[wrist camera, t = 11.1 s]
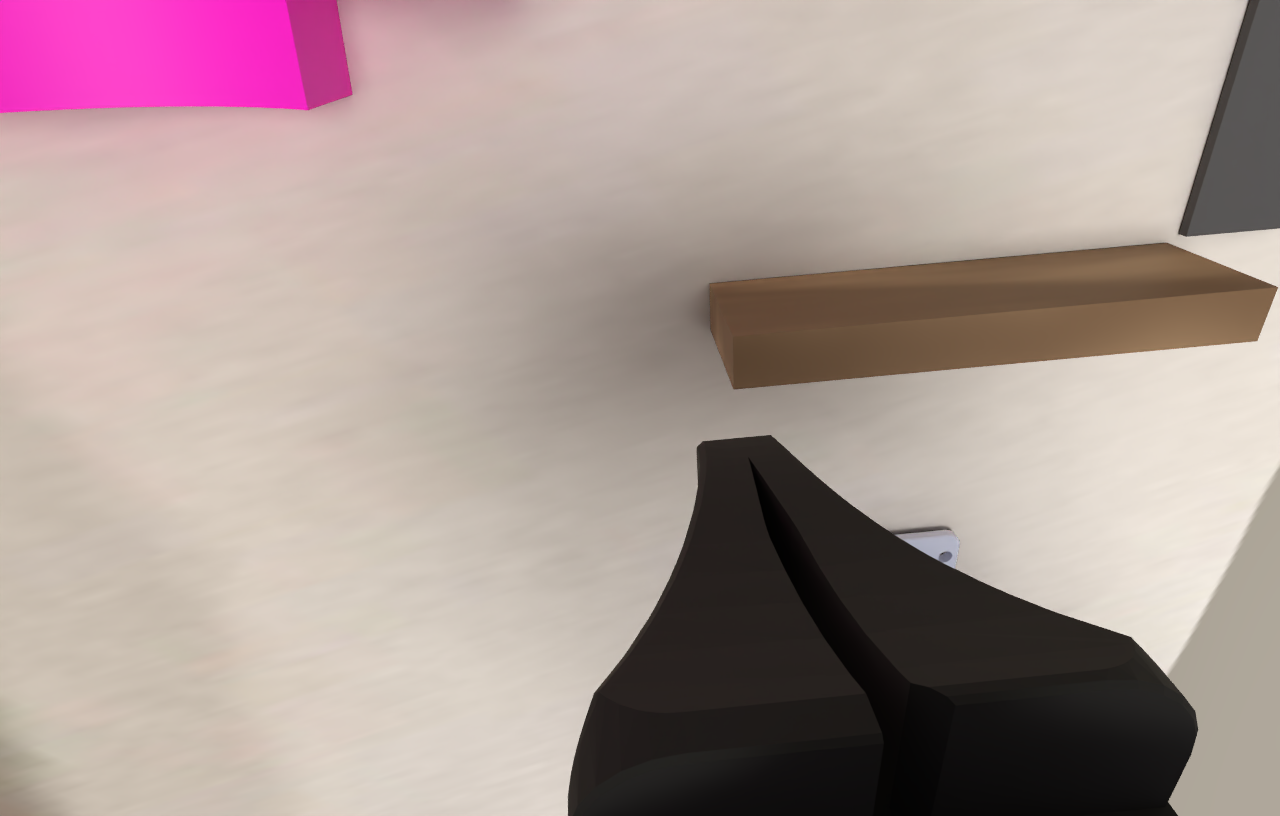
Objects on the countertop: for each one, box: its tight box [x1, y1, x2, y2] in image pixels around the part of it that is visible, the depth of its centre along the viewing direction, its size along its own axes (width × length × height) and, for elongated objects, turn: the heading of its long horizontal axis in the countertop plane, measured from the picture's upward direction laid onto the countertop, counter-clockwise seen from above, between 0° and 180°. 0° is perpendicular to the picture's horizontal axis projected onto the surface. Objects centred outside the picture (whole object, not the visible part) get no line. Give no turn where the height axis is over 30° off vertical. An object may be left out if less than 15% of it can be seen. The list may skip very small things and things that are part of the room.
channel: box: [710, 243, 1278, 389], centre depth 17 cm, size 12×14×4 cm
